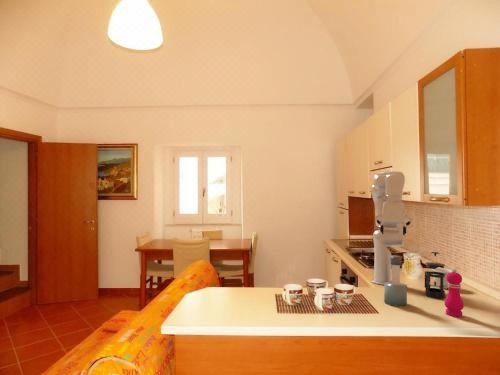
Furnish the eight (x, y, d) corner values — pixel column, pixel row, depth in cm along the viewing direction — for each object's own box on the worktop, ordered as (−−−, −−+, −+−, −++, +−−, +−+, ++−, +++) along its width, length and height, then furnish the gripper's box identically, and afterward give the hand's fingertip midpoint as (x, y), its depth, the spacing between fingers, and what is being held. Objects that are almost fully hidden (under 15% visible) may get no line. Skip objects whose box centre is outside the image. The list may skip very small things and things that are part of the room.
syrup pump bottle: (407, 307, 158) (407, 267, 159) (383, 304, 162) (384, 265, 163) (406, 301, 168) (406, 263, 168) (384, 299, 171) (384, 261, 172)
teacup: (454, 285, 204) (454, 268, 204) (455, 291, 191) (455, 273, 191) (431, 282, 209) (431, 266, 210) (431, 288, 196) (431, 270, 196)
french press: (450, 298, 175) (451, 253, 176) (435, 299, 173) (435, 253, 174) (433, 292, 187) (433, 250, 187) (418, 293, 184) (418, 250, 185)
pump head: (401, 284, 162) (401, 257, 162) (389, 283, 164) (390, 256, 164) (400, 280, 169) (401, 255, 170) (390, 279, 171) (390, 254, 172)
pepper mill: (454, 311, 154) (454, 266, 155) (467, 317, 147) (468, 270, 148) (440, 312, 153) (440, 267, 153) (453, 318, 146) (453, 270, 146)
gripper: (374, 199, 168) (374, 234, 168) (413, 200, 162) (413, 236, 162) (375, 199, 175) (374, 232, 175) (412, 199, 169) (412, 234, 169)
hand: (393, 234), depth 168 cm, fingers open, 9 cm apart
